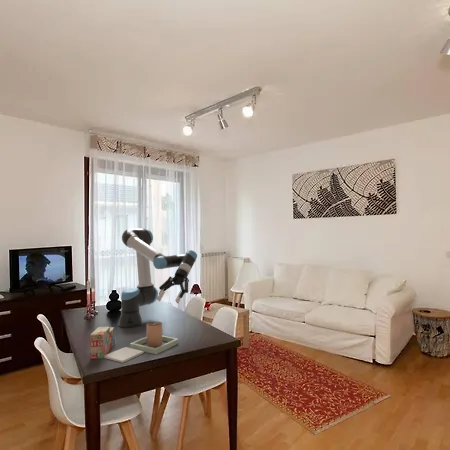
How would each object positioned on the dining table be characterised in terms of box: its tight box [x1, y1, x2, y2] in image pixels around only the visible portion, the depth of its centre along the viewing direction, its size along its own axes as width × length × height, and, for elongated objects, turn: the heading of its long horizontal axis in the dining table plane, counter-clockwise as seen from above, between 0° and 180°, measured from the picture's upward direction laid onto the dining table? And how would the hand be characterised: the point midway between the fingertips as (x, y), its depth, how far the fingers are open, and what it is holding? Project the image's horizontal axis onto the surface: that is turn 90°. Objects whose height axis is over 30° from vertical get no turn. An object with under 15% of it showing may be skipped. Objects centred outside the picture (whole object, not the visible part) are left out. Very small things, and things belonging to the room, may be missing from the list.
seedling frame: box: [129, 335, 179, 355], centre depth 179 cm, size 18×18×2 cm
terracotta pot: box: [146, 321, 163, 348], centre depth 179 cm, size 8×8×12 cm
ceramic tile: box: [103, 346, 145, 364], centre depth 165 cm, size 13×14×1 cm
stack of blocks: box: [89, 326, 116, 360], centre depth 172 cm, size 21×6×12 cm, turn 4°
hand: (167, 301), depth 188 cm, fingers open, 13 cm apart
